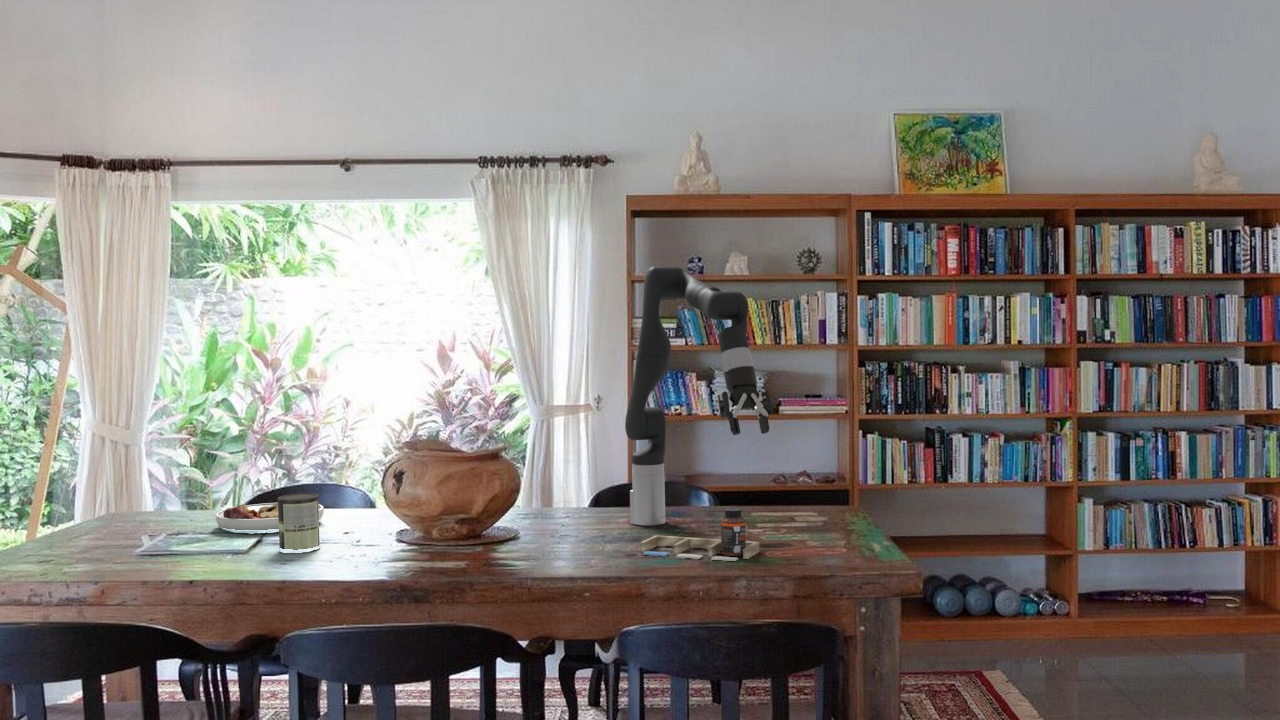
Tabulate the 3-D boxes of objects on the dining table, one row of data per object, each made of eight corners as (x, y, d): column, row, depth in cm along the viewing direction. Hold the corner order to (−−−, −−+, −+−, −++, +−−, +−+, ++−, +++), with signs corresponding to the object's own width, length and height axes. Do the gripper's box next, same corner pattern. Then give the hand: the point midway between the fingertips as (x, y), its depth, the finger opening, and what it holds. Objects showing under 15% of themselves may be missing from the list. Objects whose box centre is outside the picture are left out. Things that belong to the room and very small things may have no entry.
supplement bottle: (744, 557, 262) (743, 511, 262) (719, 557, 263) (719, 510, 263) (747, 552, 268) (746, 507, 268) (723, 552, 269) (722, 506, 269)
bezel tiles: (642, 555, 267) (642, 552, 267) (646, 553, 269) (646, 551, 269) (734, 562, 257) (734, 559, 257) (738, 560, 260) (738, 557, 260)
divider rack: (640, 552, 271) (640, 542, 271) (655, 545, 280) (655, 535, 280) (747, 559, 259) (747, 549, 259) (759, 552, 268) (759, 542, 268)
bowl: (270, 515, 339) (269, 490, 339) (345, 521, 326) (344, 495, 326) (193, 533, 312) (192, 505, 312) (271, 540, 299) (270, 511, 299)
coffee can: (270, 552, 281) (268, 497, 281) (301, 544, 290) (299, 492, 289) (298, 555, 276) (296, 500, 275) (328, 548, 285) (327, 494, 284)
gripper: (753, 373, 271) (765, 436, 266) (706, 373, 263) (718, 438, 259) (771, 364, 265) (783, 428, 260) (723, 364, 257) (736, 430, 253)
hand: (751, 433), depth 260 cm, fingers open, 8 cm apart
